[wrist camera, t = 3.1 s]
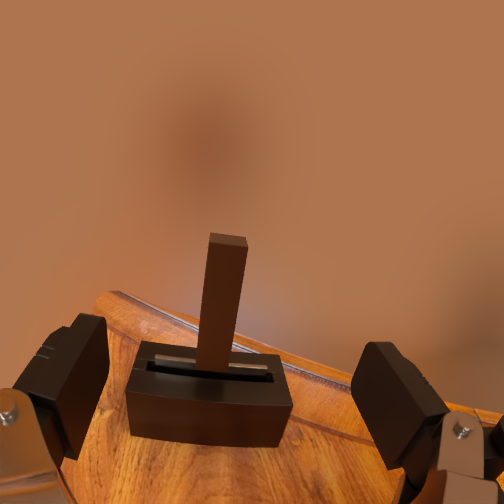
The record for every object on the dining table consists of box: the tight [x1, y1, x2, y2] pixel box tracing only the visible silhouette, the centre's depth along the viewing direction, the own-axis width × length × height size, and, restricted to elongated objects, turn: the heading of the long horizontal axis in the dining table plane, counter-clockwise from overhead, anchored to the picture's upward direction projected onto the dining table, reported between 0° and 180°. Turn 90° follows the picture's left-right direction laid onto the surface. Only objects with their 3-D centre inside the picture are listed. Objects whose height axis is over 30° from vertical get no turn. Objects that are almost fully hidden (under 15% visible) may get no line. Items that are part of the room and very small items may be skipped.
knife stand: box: [125, 341, 293, 447], centre depth 23 cm, size 6×11×5 cm, turn 96°
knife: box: [155, 233, 268, 382], centre depth 21 cm, size 2×8×15 cm, turn 96°
